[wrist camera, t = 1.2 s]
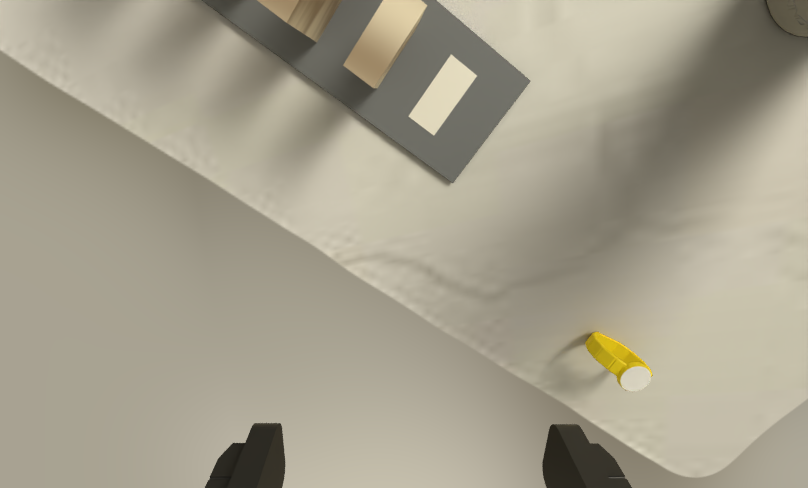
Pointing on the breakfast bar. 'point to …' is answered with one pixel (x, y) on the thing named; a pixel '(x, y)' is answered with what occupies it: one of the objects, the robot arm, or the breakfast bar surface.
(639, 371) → the watch
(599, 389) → the breakfast bar surface
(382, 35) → the wooden domino block
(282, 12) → the tile
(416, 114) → the mat
